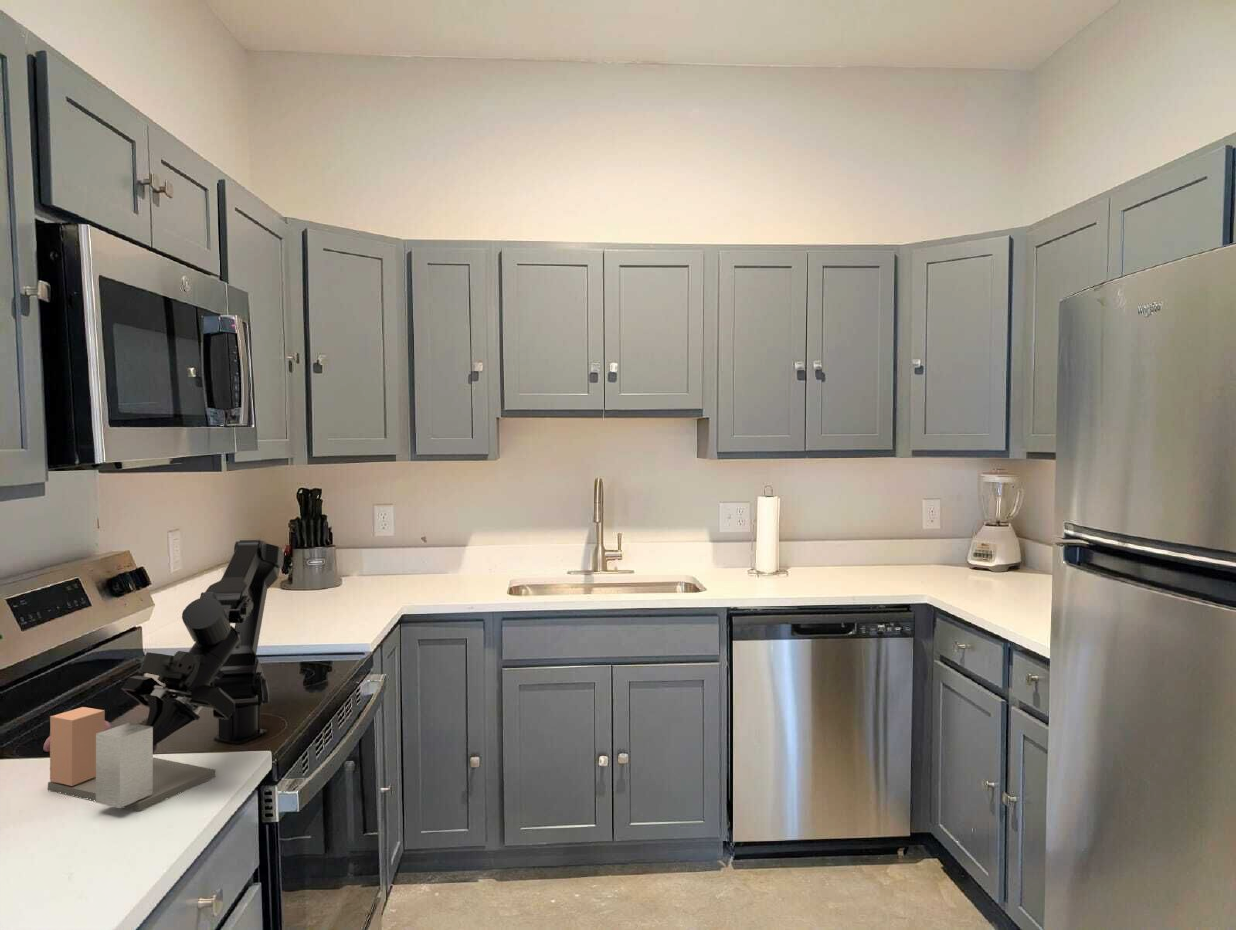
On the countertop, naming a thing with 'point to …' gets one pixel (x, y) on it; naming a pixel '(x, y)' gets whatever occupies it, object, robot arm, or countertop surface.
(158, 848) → the countertop surface
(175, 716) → the robot arm
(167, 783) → the thin grey base plate
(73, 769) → the peach orange rectangular block
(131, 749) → the brushed grey block
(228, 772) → the countertop surface
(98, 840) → the countertop surface
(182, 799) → the countertop surface
